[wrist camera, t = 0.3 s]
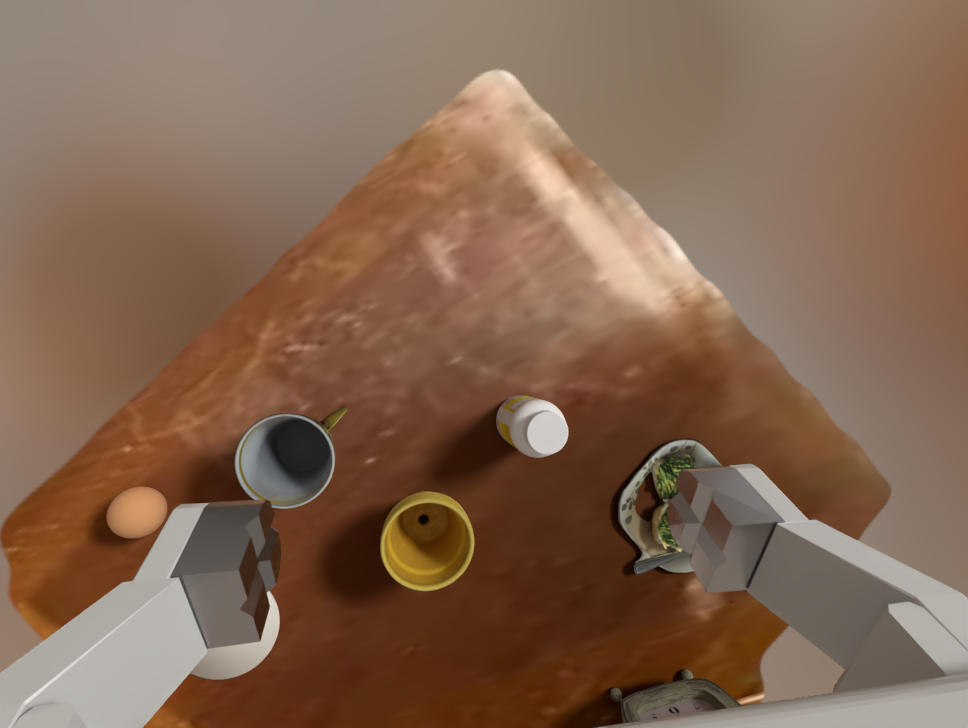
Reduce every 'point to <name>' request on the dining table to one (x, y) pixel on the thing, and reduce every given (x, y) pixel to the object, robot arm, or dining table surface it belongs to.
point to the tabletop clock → (673, 699)
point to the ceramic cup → (287, 458)
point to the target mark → (240, 651)
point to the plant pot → (426, 541)
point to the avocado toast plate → (661, 504)
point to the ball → (136, 512)
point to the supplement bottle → (532, 426)
